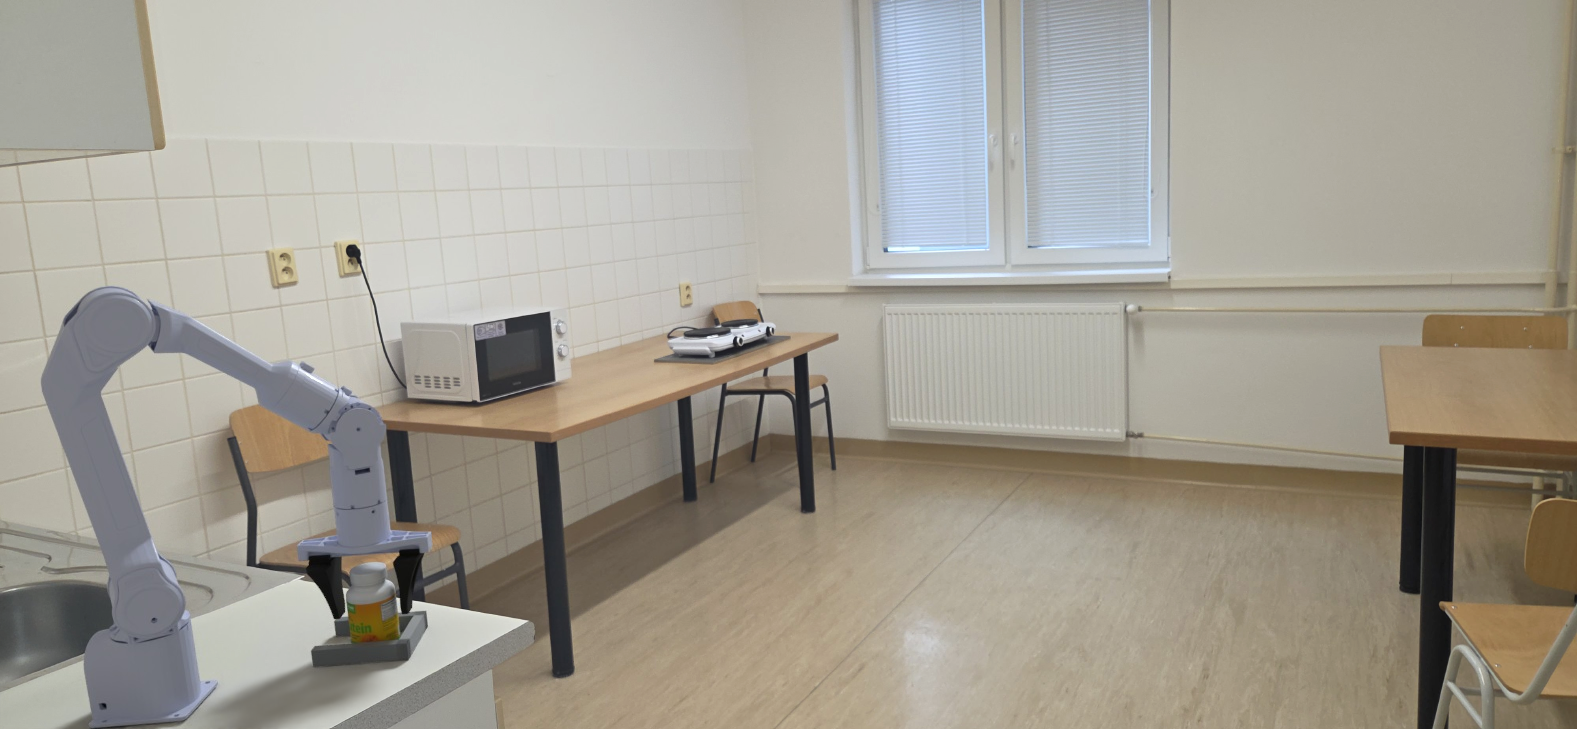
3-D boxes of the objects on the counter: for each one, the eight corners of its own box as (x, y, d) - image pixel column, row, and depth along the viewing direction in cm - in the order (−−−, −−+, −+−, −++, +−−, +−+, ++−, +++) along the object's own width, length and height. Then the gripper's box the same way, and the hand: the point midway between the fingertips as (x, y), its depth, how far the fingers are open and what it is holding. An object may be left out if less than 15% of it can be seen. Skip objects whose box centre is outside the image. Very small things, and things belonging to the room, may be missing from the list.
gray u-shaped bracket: (313, 667, 116) (310, 650, 116) (339, 632, 125) (337, 617, 125) (408, 659, 117) (406, 643, 117) (427, 626, 126) (426, 610, 126)
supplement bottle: (341, 653, 119) (331, 574, 118) (375, 633, 124) (366, 557, 123) (378, 659, 118) (369, 579, 116) (411, 639, 123) (402, 562, 121)
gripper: (433, 487, 122) (444, 595, 125) (307, 495, 121) (321, 603, 124) (418, 506, 116) (430, 619, 118) (284, 514, 114) (299, 629, 117)
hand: (373, 613), depth 120 cm, fingers open, 7 cm apart
